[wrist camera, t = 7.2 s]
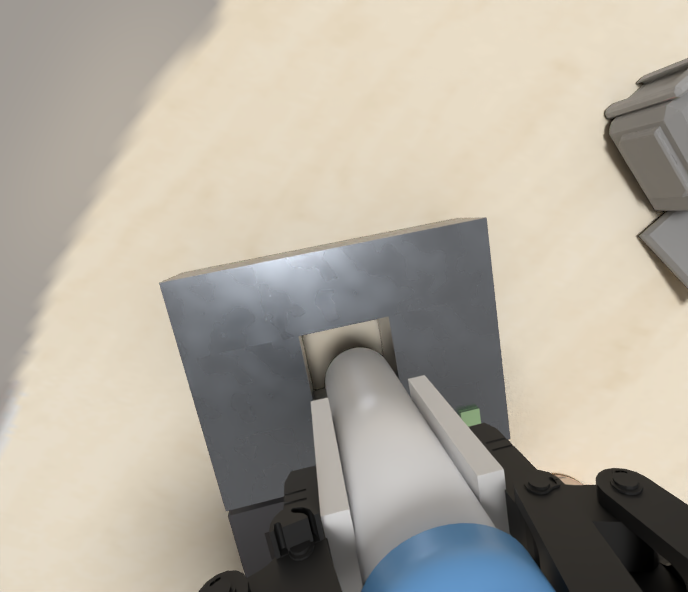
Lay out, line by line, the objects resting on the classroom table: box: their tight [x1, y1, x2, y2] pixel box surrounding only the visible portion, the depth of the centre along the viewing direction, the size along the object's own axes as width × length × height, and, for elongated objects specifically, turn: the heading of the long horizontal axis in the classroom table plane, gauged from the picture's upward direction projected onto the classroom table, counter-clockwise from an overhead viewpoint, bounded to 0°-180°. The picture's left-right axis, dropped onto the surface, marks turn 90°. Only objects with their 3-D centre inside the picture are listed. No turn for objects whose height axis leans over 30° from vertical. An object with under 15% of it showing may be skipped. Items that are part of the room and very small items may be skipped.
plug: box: [325, 348, 556, 592], centre depth 14 cm, size 4×4×14 cm
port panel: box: [159, 218, 510, 511], centre depth 24 cm, size 18×14×4 cm
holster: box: [228, 497, 284, 578], centre depth 27 cm, size 9×9×2 cm
